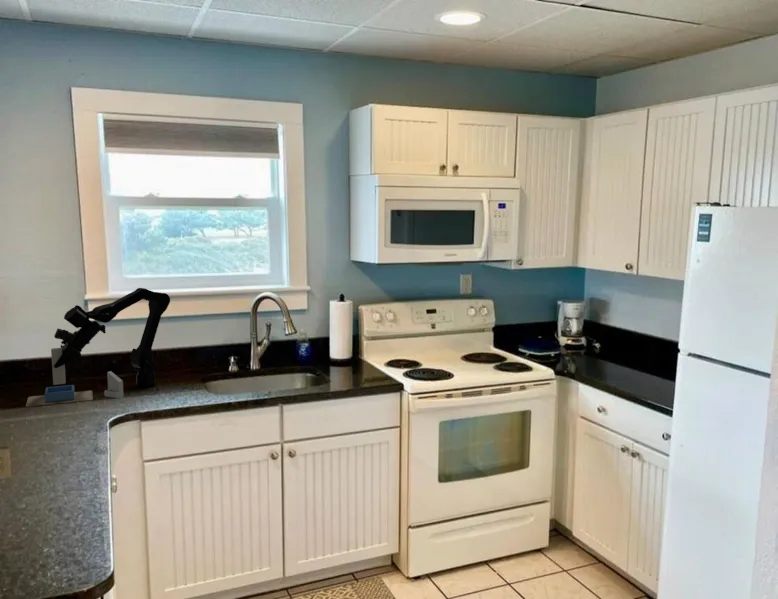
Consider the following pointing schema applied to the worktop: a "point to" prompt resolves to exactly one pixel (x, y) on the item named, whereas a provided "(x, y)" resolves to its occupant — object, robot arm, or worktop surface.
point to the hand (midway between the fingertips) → (54, 366)
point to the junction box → (59, 393)
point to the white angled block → (114, 386)
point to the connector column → (60, 371)
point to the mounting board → (78, 397)
